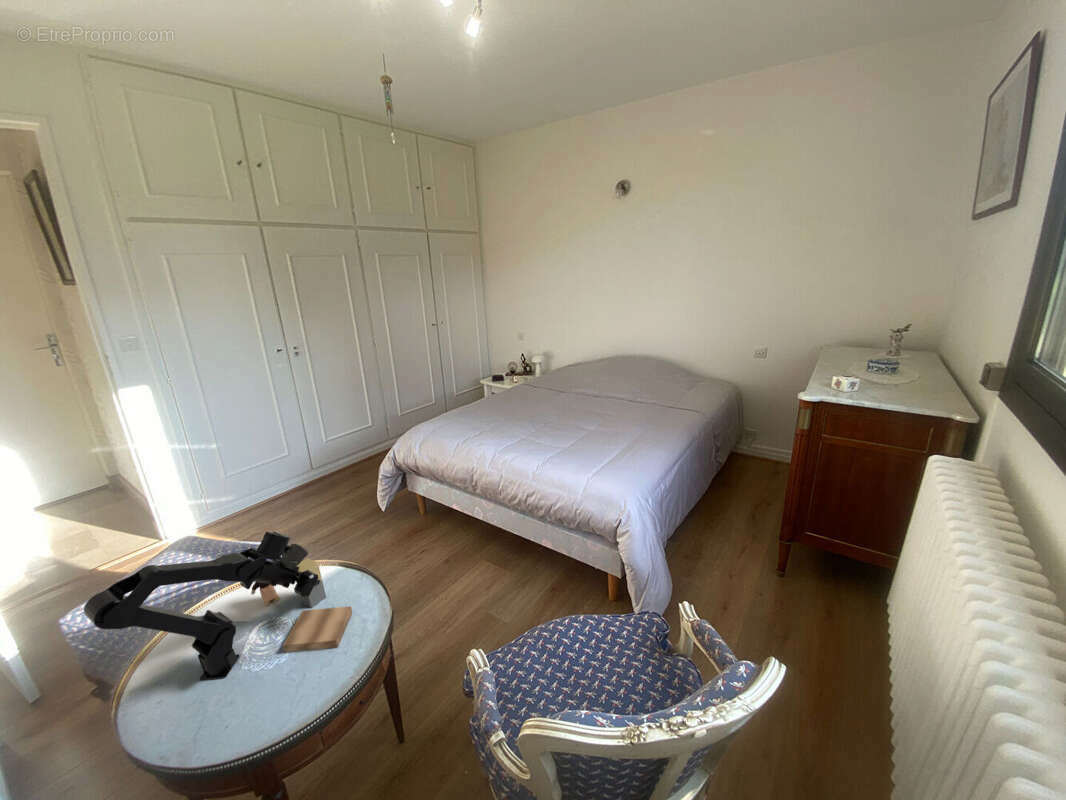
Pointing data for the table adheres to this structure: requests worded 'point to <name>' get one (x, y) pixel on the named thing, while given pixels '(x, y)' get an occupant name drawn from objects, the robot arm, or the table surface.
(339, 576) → the table surface
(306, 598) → the yellow grey tall block
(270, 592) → the grandmother figurine
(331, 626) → the walnut plinth
